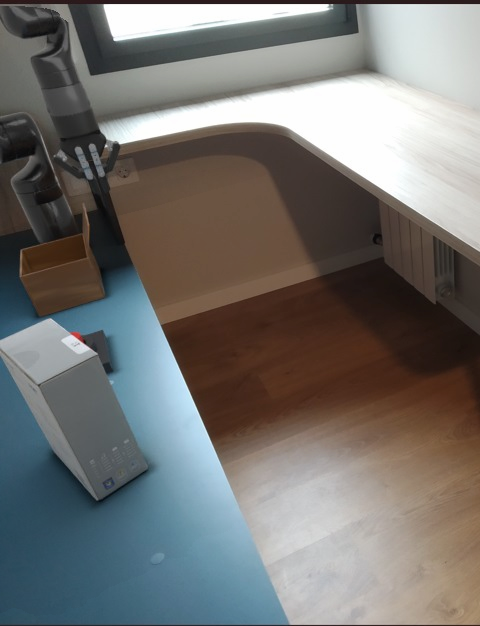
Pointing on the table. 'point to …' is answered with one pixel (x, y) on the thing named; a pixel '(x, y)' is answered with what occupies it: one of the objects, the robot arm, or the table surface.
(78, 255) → the carton
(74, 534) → the table surface
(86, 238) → the flap
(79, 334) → the button
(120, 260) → the table surface
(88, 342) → the button block
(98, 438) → the hard drive box
